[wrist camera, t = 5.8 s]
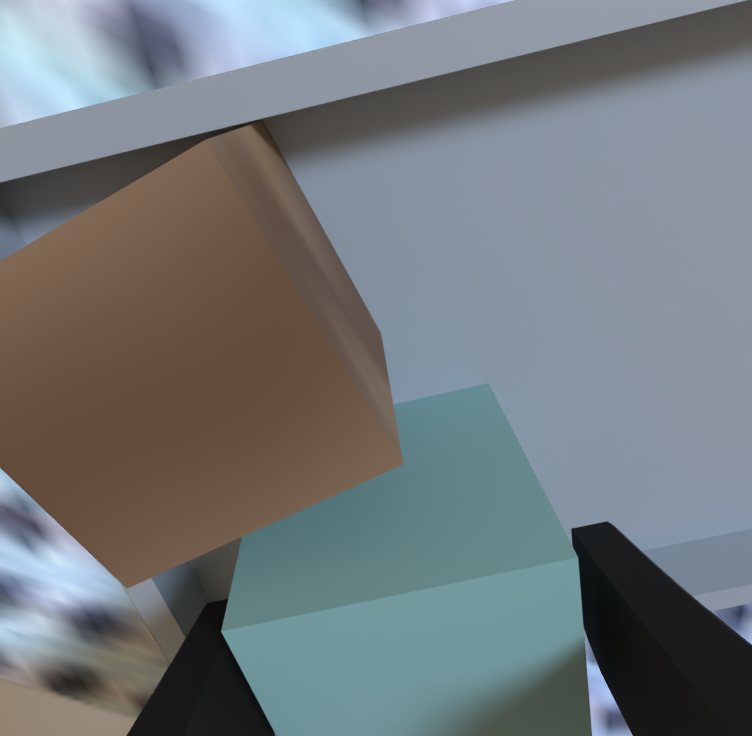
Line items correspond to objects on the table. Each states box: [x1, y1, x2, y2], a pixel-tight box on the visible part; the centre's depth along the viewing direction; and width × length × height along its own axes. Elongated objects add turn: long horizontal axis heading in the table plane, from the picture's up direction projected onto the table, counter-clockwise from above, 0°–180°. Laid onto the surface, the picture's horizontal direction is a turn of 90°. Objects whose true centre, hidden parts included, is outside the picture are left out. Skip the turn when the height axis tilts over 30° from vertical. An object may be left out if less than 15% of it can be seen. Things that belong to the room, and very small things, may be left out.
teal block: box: [221, 383, 592, 736], centre depth 10 cm, size 4×4×4 cm
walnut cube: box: [0, 121, 403, 588], centre depth 8 cm, size 4×4×4 cm
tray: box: [0, 0, 752, 664], centre depth 10 cm, size 12×16×2 cm
